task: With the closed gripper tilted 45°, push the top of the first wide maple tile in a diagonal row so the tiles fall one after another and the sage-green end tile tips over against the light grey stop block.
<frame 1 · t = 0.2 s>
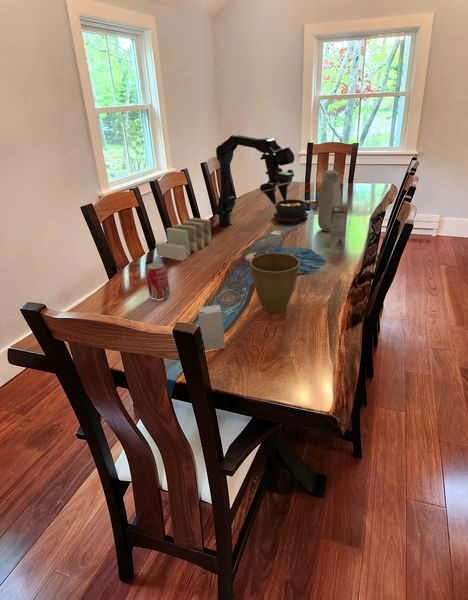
hand: (280, 202, 185), 15 cm above the table, tool pointing down, fingers open, 9 cm apart
skincare box: (213, 348, 109), on the table
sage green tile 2: (194, 245, 184), on the table
decorative plate: (288, 262, 162), on the table
sage end tile: (179, 253, 175), on the table
plant pot: (274, 308, 127), on the table
casserole: (290, 218, 215), on the table
coffee box: (337, 245, 175), on the table
stop block: (171, 257, 171), on the table
soda can: (160, 297, 138), on the table
grey bottle: (327, 230, 194), on the table
maple tile 1: (201, 242, 188), on the table
maple tile 3: (187, 249, 180), on the table
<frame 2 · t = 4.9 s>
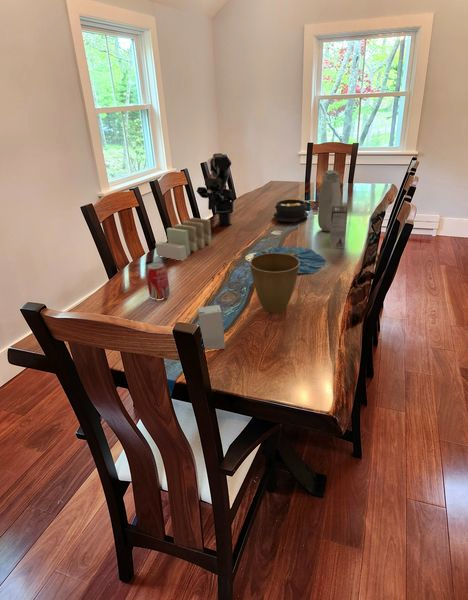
hand: (209, 209, 187), 14 cm above the table, tool tilted 45°, fingers closed
nothing on the table moved.
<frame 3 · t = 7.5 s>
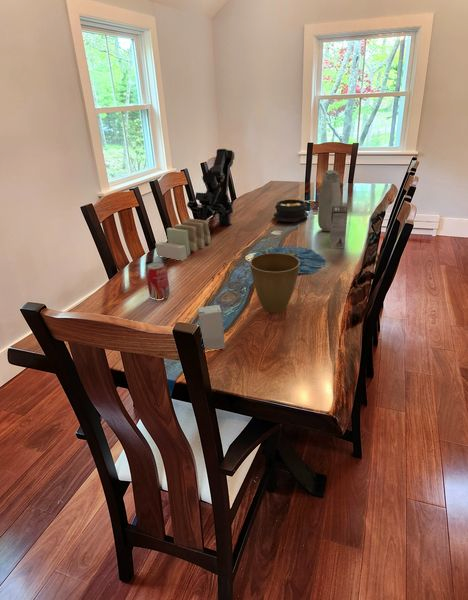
hand: (199, 224, 183), 9 cm above the table, tool tilted 45°, fingers closed
maple tile 1: (201, 241, 188), on the table, tilted 11°
everything else where it was.
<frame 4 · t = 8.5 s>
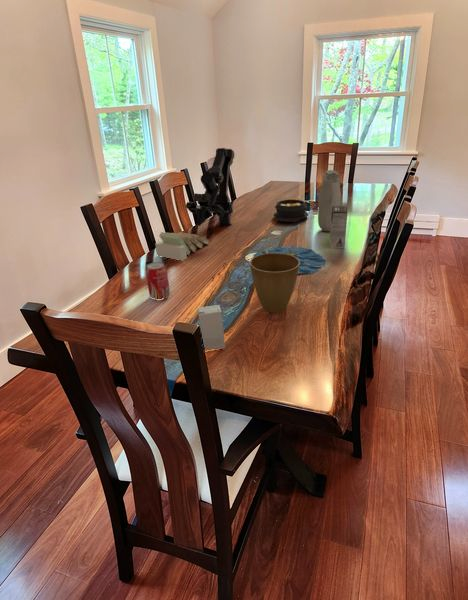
hand: (198, 225, 183), 9 cm above the table, tool tilted 45°, fingers closed
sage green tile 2: (193, 244, 183), point 1 cm above the table, tilted 51°, touching maple tile 1, maple tile 3
sage end tile: (180, 252, 176), point 1 cm above the table, tilted 31°, touching maple tile 3, stop block
maple tile 1: (200, 241, 187), point 1 cm above the table, tilted 59°, touching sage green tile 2
maple tile 3: (186, 248, 179), point 1 cm above the table, tilted 42°, touching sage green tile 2, sage end tile
everything else where it was.
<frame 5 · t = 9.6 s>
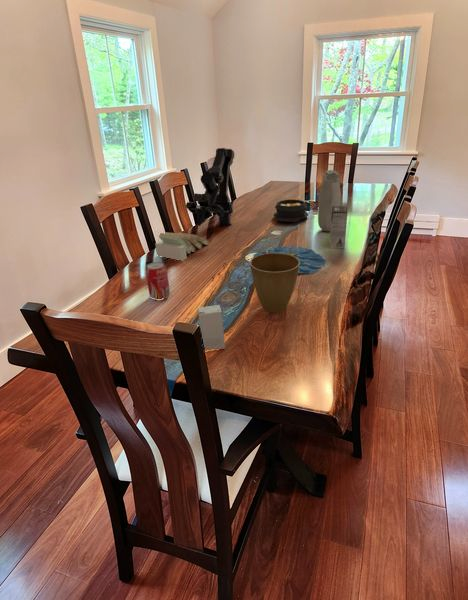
hand: (198, 225, 183), 9 cm above the table, tool tilted 45°, fingers closed
sage end tile: (181, 250, 176), point 1 cm above the table, tilted 39°, touching maple tile 3, stop block
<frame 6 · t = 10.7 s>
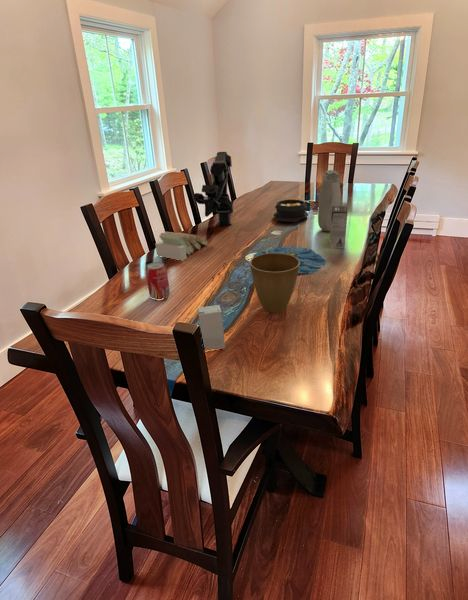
hand: (206, 216, 186), 11 cm above the table, tool tilted 45°, fingers closed
sage end tile: (180, 251, 176), point 1 cm above the table, tilted 34°, touching maple tile 3, stop block
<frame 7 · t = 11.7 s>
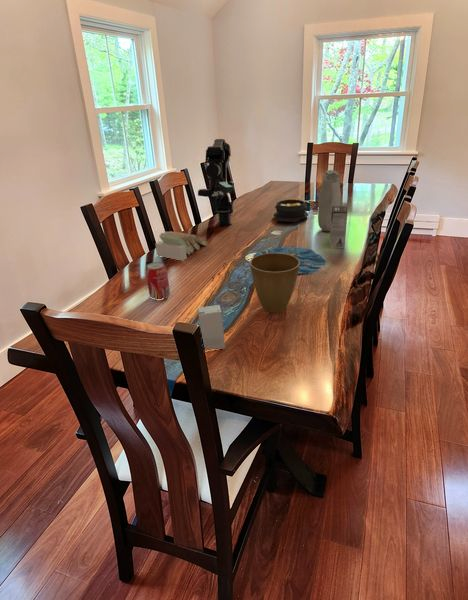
hand: (216, 210, 189), 13 cm above the table, tool pointing down, fingers closed
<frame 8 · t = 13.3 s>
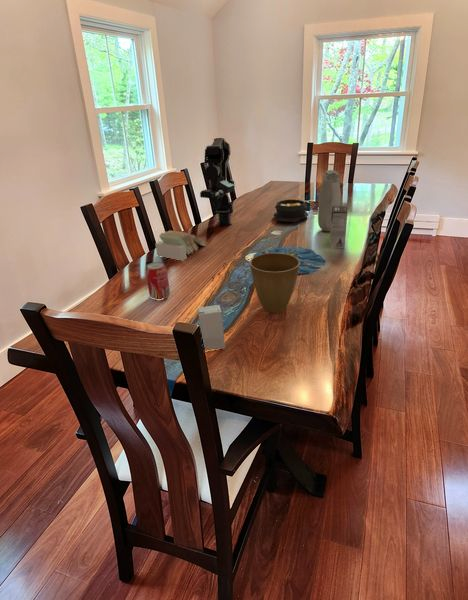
hand: (217, 208, 190), 13 cm above the table, tool pointing down, fingers closed
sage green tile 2: (188, 247, 180), point 1 cm above the table, tilted 37°, touching maple tile 1, maple tile 3
at the end: sage end tile tilted 35°; sage end tile touching maple tile 3, stop block, table; maple tile 1 tilted 55° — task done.
